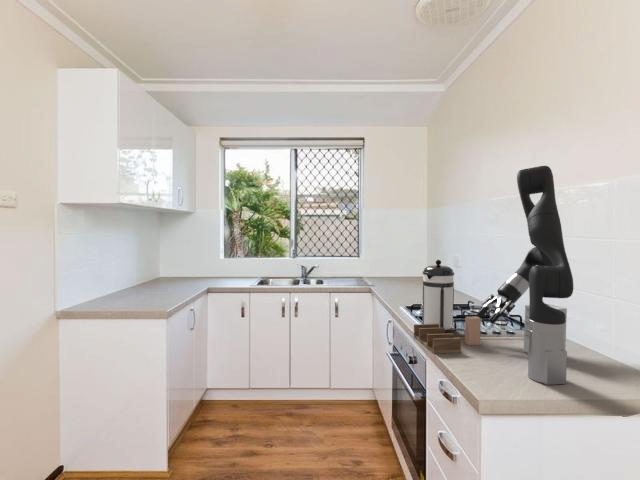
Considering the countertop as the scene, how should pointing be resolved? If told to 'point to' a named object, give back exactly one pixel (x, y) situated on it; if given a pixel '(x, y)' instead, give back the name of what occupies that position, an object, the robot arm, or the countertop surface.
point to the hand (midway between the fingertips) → (484, 319)
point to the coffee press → (438, 296)
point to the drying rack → (437, 338)
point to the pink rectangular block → (472, 330)
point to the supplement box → (526, 331)
